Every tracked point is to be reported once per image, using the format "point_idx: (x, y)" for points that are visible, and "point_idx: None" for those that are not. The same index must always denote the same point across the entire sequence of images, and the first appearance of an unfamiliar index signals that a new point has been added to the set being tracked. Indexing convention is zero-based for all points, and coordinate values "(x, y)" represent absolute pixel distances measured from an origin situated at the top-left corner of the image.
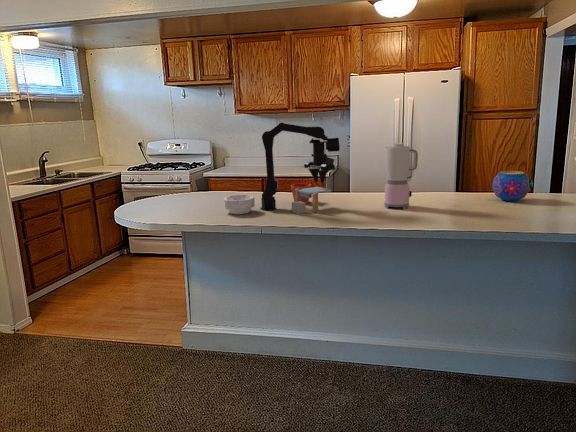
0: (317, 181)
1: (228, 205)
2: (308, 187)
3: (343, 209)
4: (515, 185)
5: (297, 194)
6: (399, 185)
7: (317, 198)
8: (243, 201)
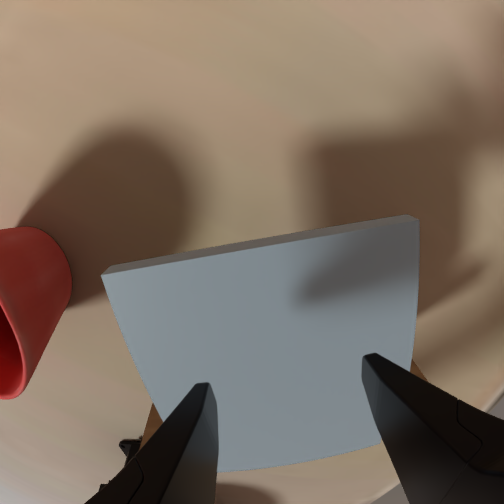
0: (207, 387)
1: None
2: (12, 300)
3: (396, 125)
4: None
5: None
6: None
7: (419, 375)
8: None
